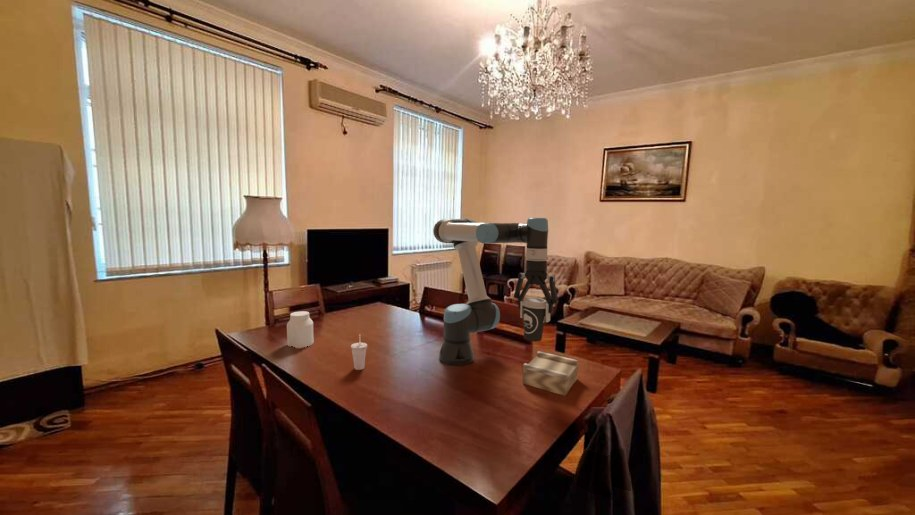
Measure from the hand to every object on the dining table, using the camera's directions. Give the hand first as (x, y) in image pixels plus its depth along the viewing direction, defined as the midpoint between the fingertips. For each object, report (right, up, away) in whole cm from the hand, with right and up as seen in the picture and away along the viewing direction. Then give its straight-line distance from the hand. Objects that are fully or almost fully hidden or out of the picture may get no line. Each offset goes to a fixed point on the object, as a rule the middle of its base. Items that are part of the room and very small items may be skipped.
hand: (534, 319), depth 130 cm
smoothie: (-69, -22, +11) cm, 73 cm away
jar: (-104, -18, +36) cm, 112 cm away
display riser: (+7, -24, +3) cm, 25 cm away
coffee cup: (-1, -8, +1) cm, 8 cm away
